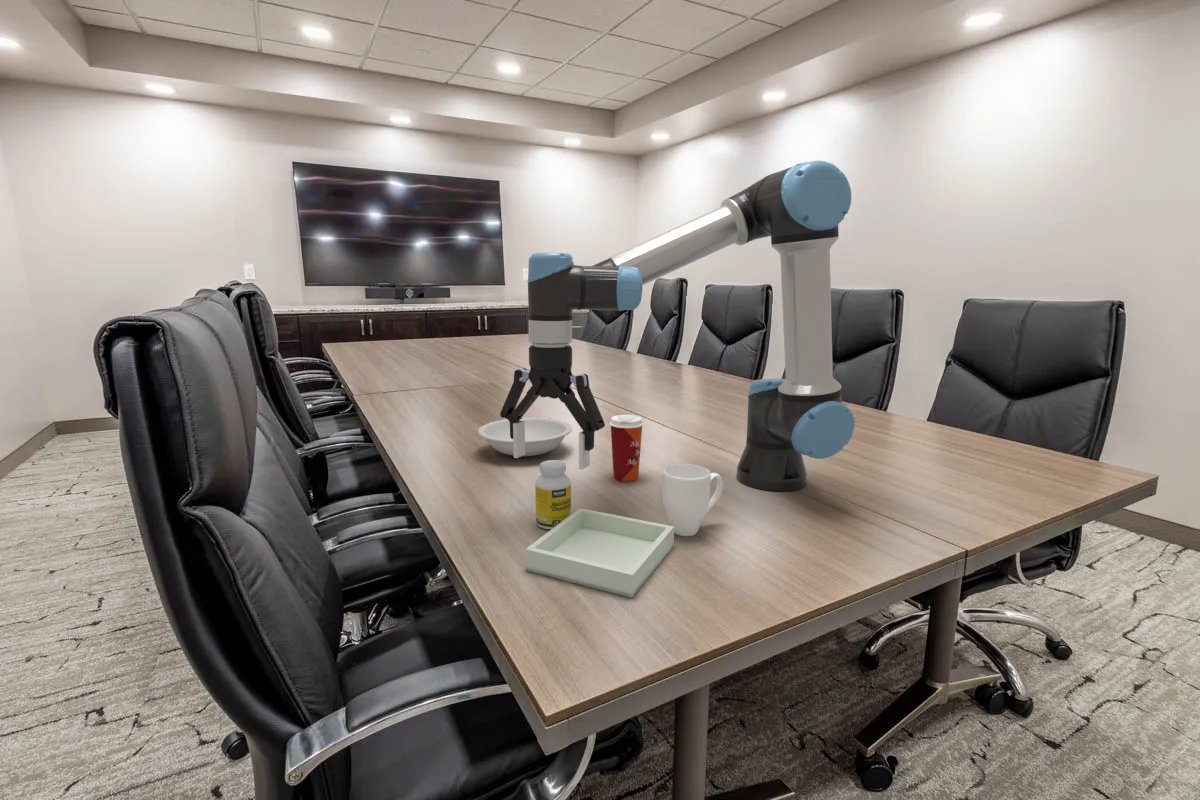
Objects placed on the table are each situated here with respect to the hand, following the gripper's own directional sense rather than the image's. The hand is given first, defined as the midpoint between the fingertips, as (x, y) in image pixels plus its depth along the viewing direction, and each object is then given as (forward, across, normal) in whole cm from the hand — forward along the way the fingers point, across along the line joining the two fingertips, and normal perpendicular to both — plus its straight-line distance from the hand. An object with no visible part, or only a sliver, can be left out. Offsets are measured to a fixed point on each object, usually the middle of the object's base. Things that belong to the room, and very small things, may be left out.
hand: (550, 461), depth 104 cm
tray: (+12, -14, +8) cm, 20 cm away
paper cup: (+12, -2, -29) cm, 32 cm away
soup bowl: (+12, +29, -35) cm, 47 cm away
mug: (+12, -24, -9) cm, 29 cm away
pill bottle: (+12, 0, 0) cm, 12 cm away
